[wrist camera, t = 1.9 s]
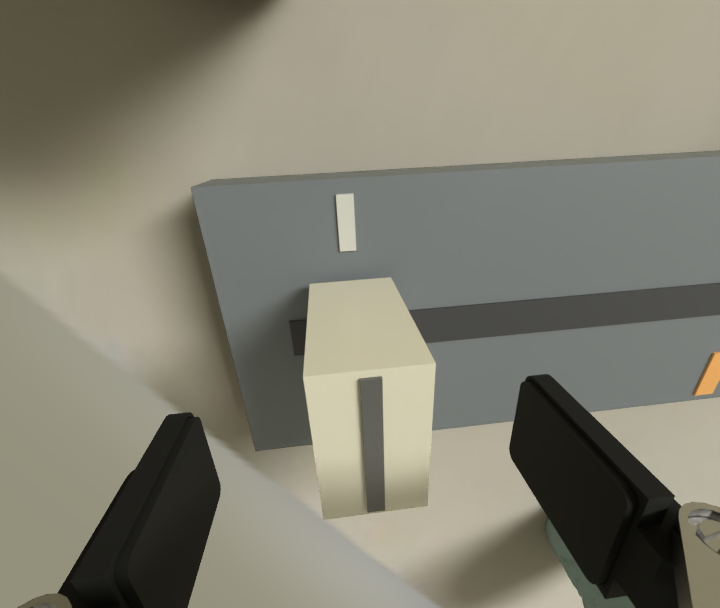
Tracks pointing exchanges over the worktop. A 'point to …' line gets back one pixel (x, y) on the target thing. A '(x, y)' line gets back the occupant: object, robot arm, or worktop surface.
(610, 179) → the fader console
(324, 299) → the fader tab
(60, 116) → the worktop surface
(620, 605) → the teal embossed cup
